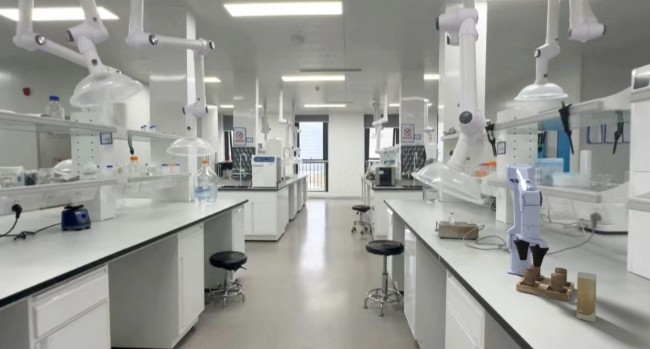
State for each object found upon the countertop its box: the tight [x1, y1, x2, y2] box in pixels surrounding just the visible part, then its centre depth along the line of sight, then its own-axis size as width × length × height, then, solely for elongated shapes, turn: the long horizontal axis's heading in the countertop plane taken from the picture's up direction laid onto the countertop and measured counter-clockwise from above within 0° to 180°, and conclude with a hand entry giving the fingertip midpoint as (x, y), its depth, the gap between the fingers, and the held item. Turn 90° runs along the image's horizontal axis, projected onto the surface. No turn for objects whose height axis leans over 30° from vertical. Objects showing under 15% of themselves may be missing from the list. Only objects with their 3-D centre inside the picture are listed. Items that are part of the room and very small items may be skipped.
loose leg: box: [523, 269, 536, 288], centre depth 121 cm, size 4×4×7 cm
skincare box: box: [576, 271, 597, 323], centre depth 100 cm, size 6×4×12 cm
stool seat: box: [515, 262, 575, 302], centre depth 121 cm, size 15×15×7 cm
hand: (530, 263), depth 121 cm, fingers open, 7 cm apart
